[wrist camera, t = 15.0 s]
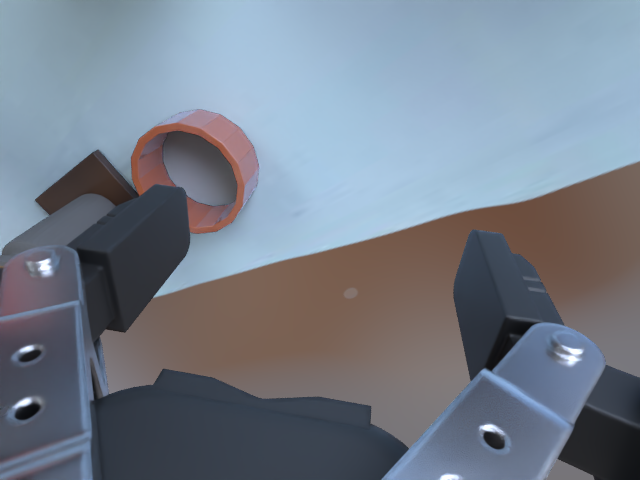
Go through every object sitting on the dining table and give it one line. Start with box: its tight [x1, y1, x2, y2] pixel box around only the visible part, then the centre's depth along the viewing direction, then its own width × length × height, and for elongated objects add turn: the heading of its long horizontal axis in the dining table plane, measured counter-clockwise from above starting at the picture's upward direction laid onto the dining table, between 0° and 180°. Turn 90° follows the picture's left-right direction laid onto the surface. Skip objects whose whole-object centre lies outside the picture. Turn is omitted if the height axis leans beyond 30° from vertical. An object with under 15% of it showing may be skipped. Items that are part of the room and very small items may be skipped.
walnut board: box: [35, 150, 139, 215], centre depth 48 cm, size 11×11×1 cm
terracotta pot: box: [131, 109, 259, 234], centre depth 41 cm, size 11×11×5 cm
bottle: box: [0, 193, 116, 268], centre depth 41 cm, size 6×6×15 cm
